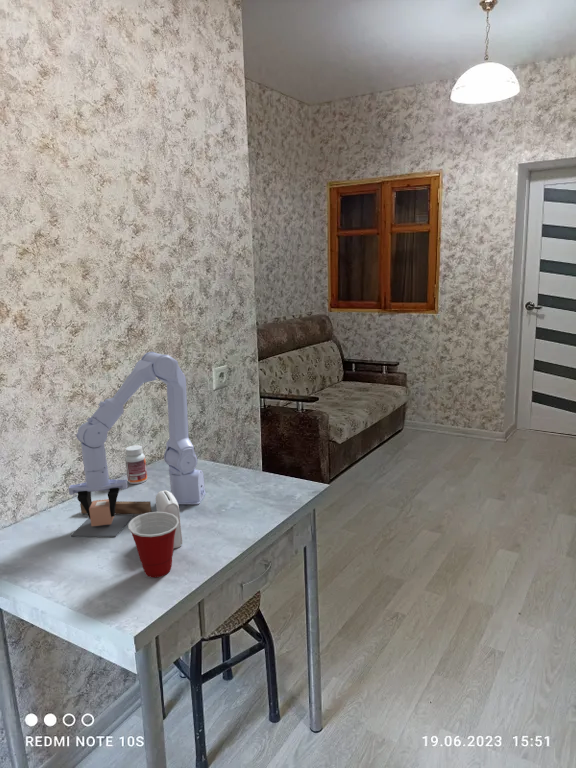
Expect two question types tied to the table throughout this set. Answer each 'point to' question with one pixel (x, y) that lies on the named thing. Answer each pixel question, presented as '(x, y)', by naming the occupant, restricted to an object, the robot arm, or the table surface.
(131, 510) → the walnut board
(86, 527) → the slate mat
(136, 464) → the pill bottle
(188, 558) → the table surface
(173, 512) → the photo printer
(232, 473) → the table surface
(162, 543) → the plastic cup
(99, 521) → the marked cube
